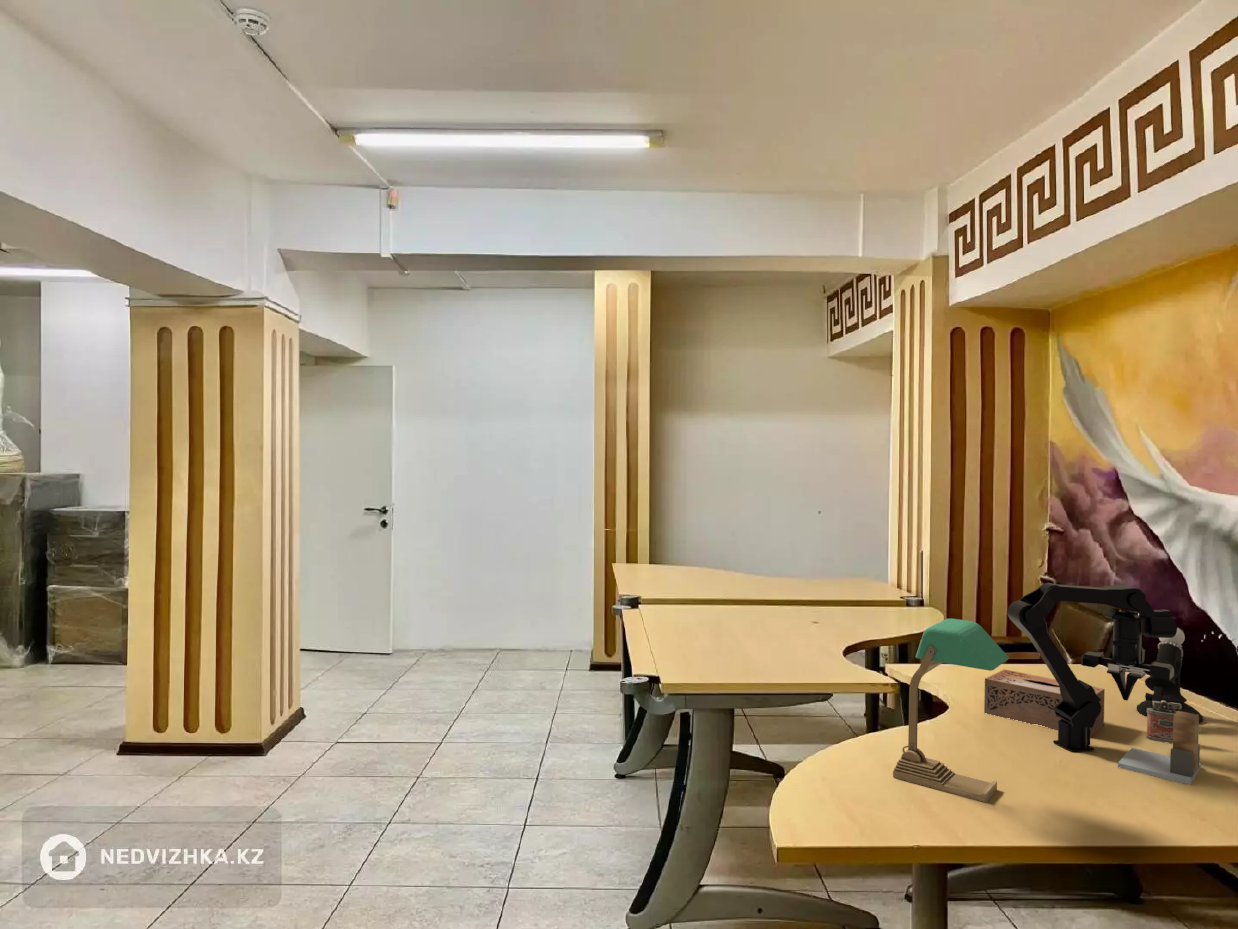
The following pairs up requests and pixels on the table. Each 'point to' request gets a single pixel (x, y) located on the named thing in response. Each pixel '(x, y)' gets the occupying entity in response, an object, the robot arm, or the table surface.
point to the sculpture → (1168, 688)
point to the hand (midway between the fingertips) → (1125, 700)
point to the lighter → (1161, 721)
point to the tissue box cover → (1028, 698)
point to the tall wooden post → (1186, 733)
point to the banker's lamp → (937, 646)
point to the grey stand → (1162, 764)
